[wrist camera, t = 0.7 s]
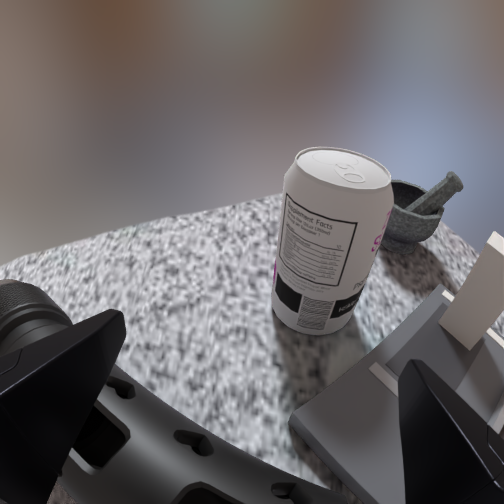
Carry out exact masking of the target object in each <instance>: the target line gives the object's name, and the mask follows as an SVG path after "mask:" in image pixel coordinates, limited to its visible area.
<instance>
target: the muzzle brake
mask: <svg viewBox="0 0 504 504" xmlns="http://www.w3.org/2000/svg"><path fill="white" fill-rule="evenodd" d="M72 325H73V324H72V322H71V320H70V318H69V317H68V316H67V315H66V313H65V312H64V311H63V310H62V309H61V308H60V307H59V306H58V305H57V304H56V303H55V302H54V301H53V300H52V299H51V298H50V297H49V296H48V295H47V294H46V293H45V292H44V291H43V290H41V289H40V288H38V287H36V286H34V285H32V284H28V283H24V282H20V281H17V280H13V279H3V280H0V356H3V355H5V354H8V353H10V352H12V351H15V350H17V349H19V348H23V347H24V346H26V345H28V344H31V343H33V342H35V341H38V340H40V339H42V338H44V337H47V336H49V335H51V334H54V333H56V332H58V331H60V330H63V329H65V328H67V327H70V326H72ZM57 482H58V483H59V484H60V485H61V486H62V488H63V489H64V490H65V491H66V492H67V493H68V494H69V495H70V496H71V497H72V498H73V499H74V500H75V501H76V502H77V503H78V504H347V500H346V497H345V496H344V495H342V494H339V493H337V492H334V491H331V490H328V489H326V488H323V487H320V486H318V485H315V484H313V483H310V482H308V481H305V480H303V479H301V478H298V477H296V476H294V475H291V474H289V473H287V472H285V471H282V470H280V469H278V468H276V467H274V466H272V465H270V464H268V463H266V462H264V461H262V460H260V459H258V458H256V457H254V456H252V455H250V454H248V453H246V452H244V451H242V450H241V449H239V448H237V447H235V446H233V445H231V444H230V443H228V442H226V441H224V440H223V439H221V438H219V437H218V436H216V435H214V434H212V433H211V432H209V431H208V430H206V429H204V428H203V427H201V426H199V425H198V424H196V423H195V422H193V421H192V420H190V419H189V418H187V417H186V416H184V415H182V414H181V413H180V412H178V411H177V410H175V409H174V408H172V407H171V406H169V405H168V404H166V403H165V402H164V401H162V400H161V399H159V398H158V397H157V396H155V395H154V394H153V393H151V392H150V391H149V390H147V389H146V388H145V387H143V386H142V385H141V384H139V383H138V382H137V381H136V380H134V379H133V378H132V377H130V376H129V375H128V374H127V373H125V372H124V371H123V370H122V369H121V368H119V367H118V366H117V365H116V364H114V366H113V369H112V371H111V373H110V376H109V378H108V379H107V381H106V383H105V385H104V387H103V389H102V391H101V392H100V394H99V396H98V398H97V400H96V402H95V404H94V405H93V407H92V409H91V411H90V413H89V415H88V417H87V419H86V421H85V423H84V425H83V427H82V429H81V431H80V433H79V435H78V437H77V439H76V441H75V443H74V445H73V447H72V449H71V451H70V453H69V455H68V457H67V459H66V461H65V463H64V465H63V467H62V470H61V472H60V474H59V476H58V479H57Z"/></svg>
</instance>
